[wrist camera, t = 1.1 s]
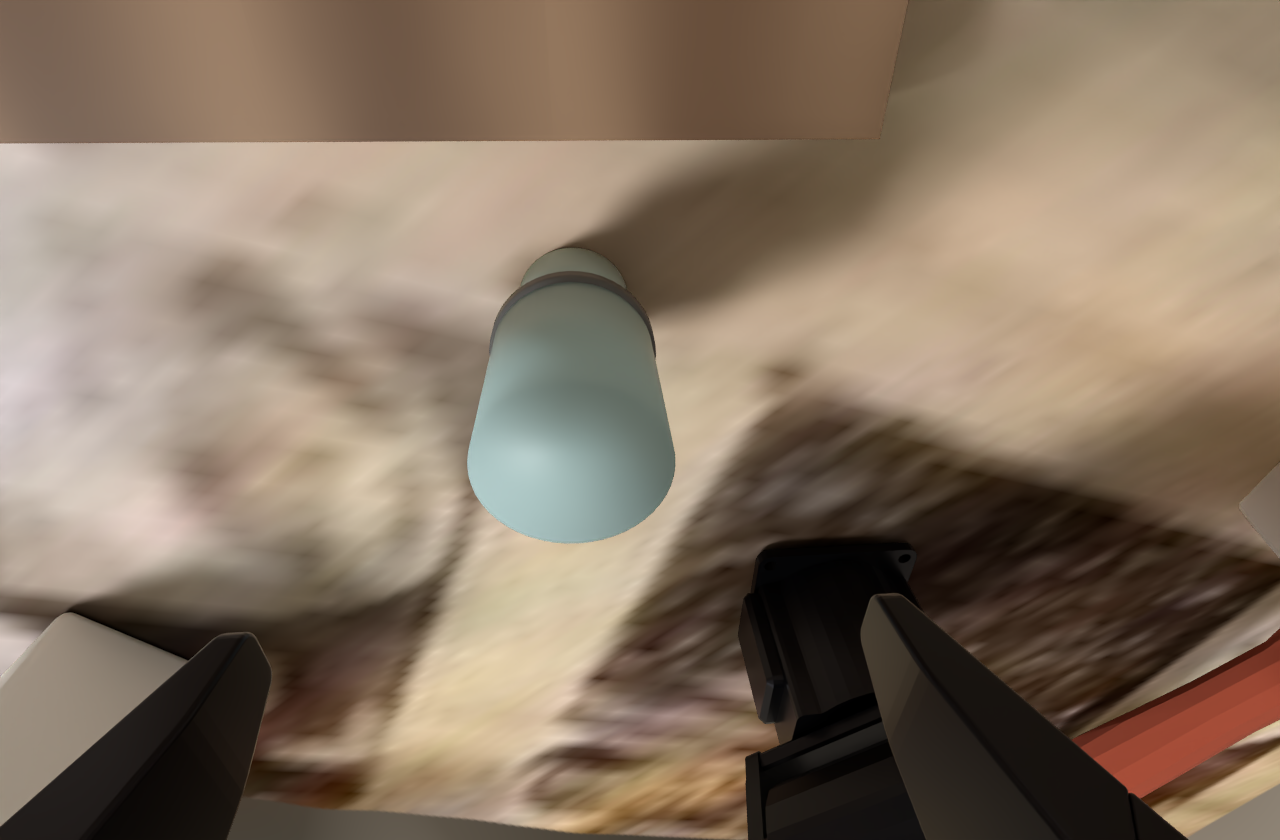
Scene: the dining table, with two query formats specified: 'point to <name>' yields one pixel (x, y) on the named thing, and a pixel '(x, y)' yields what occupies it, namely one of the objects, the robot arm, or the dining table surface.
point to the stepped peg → (571, 406)
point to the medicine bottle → (69, 700)
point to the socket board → (444, 70)
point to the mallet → (1199, 696)
